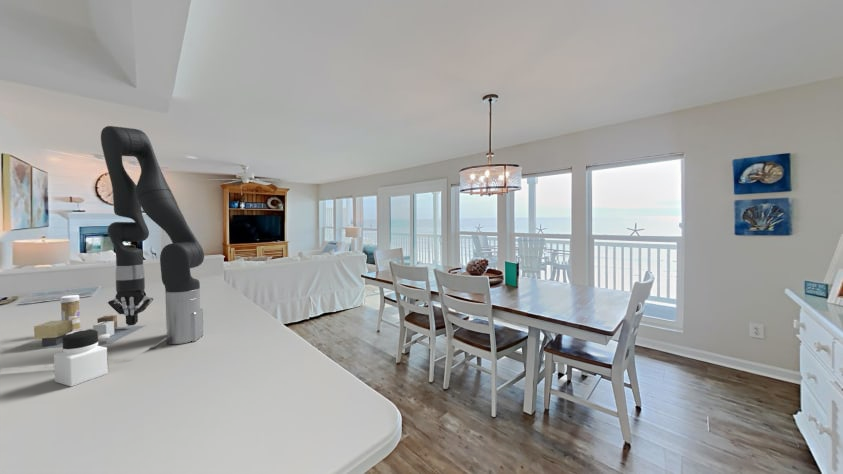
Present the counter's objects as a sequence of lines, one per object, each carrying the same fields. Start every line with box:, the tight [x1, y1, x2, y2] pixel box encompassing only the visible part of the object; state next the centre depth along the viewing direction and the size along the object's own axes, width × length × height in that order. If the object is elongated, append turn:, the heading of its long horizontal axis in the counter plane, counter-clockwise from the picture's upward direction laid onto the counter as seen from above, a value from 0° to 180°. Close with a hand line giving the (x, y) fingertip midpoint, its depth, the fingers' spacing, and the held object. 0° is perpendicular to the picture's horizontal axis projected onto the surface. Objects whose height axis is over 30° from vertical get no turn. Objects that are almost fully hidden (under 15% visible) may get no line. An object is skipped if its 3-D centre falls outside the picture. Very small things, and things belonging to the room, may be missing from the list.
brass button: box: [33, 319, 74, 340], centre depth 97 cm, size 6×6×4 cm
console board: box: [30, 324, 147, 350], centre depth 103 cm, size 20×18×5 cm
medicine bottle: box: [53, 328, 109, 387], centre depth 78 cm, size 7×7×12 cm
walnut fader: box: [96, 314, 118, 329], centre depth 109 cm, size 4×4×5 cm
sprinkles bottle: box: [59, 294, 81, 331], centre depth 110 cm, size 5×5×14 cm
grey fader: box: [92, 321, 114, 336], centre depth 102 cm, size 4×4×5 cm
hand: (131, 324), depth 111 cm, fingers closed
